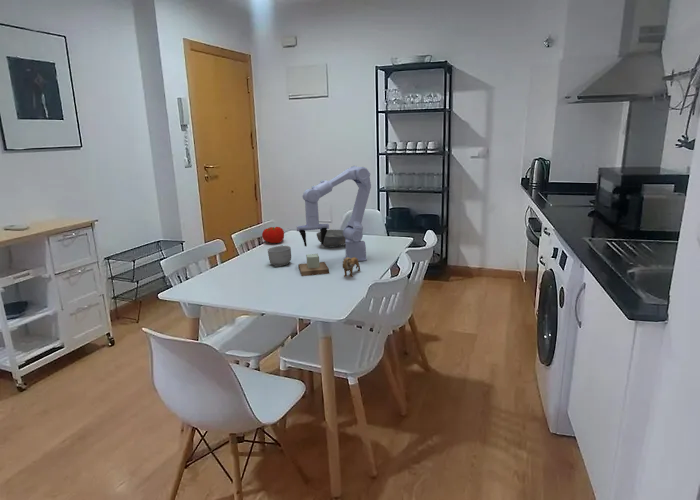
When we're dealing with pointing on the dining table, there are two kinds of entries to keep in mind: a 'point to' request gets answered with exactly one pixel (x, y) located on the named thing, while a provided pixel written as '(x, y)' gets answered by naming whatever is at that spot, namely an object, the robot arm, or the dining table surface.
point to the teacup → (279, 255)
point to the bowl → (332, 238)
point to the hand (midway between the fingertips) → (313, 245)
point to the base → (313, 269)
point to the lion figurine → (350, 265)
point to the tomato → (273, 235)
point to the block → (313, 261)
